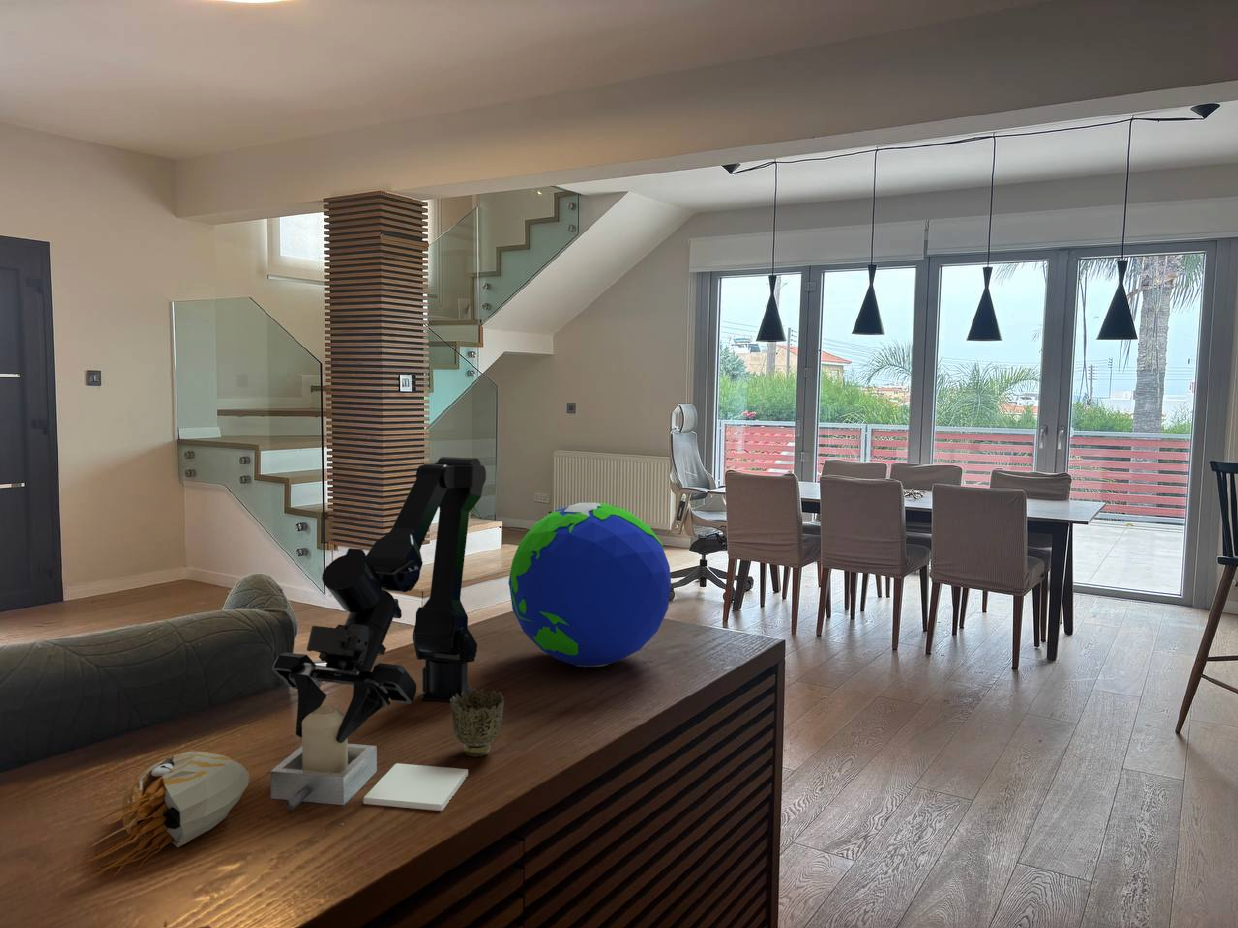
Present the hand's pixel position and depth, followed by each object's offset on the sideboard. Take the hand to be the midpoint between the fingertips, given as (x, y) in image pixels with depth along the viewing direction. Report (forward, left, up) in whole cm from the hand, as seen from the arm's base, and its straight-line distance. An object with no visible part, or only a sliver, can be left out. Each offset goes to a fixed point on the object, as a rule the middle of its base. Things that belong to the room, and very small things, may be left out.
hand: (318, 738), depth 113 cm
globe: (-24, -56, -7) cm, 62 cm away
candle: (0, -1, -7) cm, 7 cm away
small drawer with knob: (0, +1, -7) cm, 7 cm away
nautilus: (+12, +14, -7) cm, 20 cm away
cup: (-16, -14, -7) cm, 23 cm away
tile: (-12, -2, -7) cm, 14 cm away
